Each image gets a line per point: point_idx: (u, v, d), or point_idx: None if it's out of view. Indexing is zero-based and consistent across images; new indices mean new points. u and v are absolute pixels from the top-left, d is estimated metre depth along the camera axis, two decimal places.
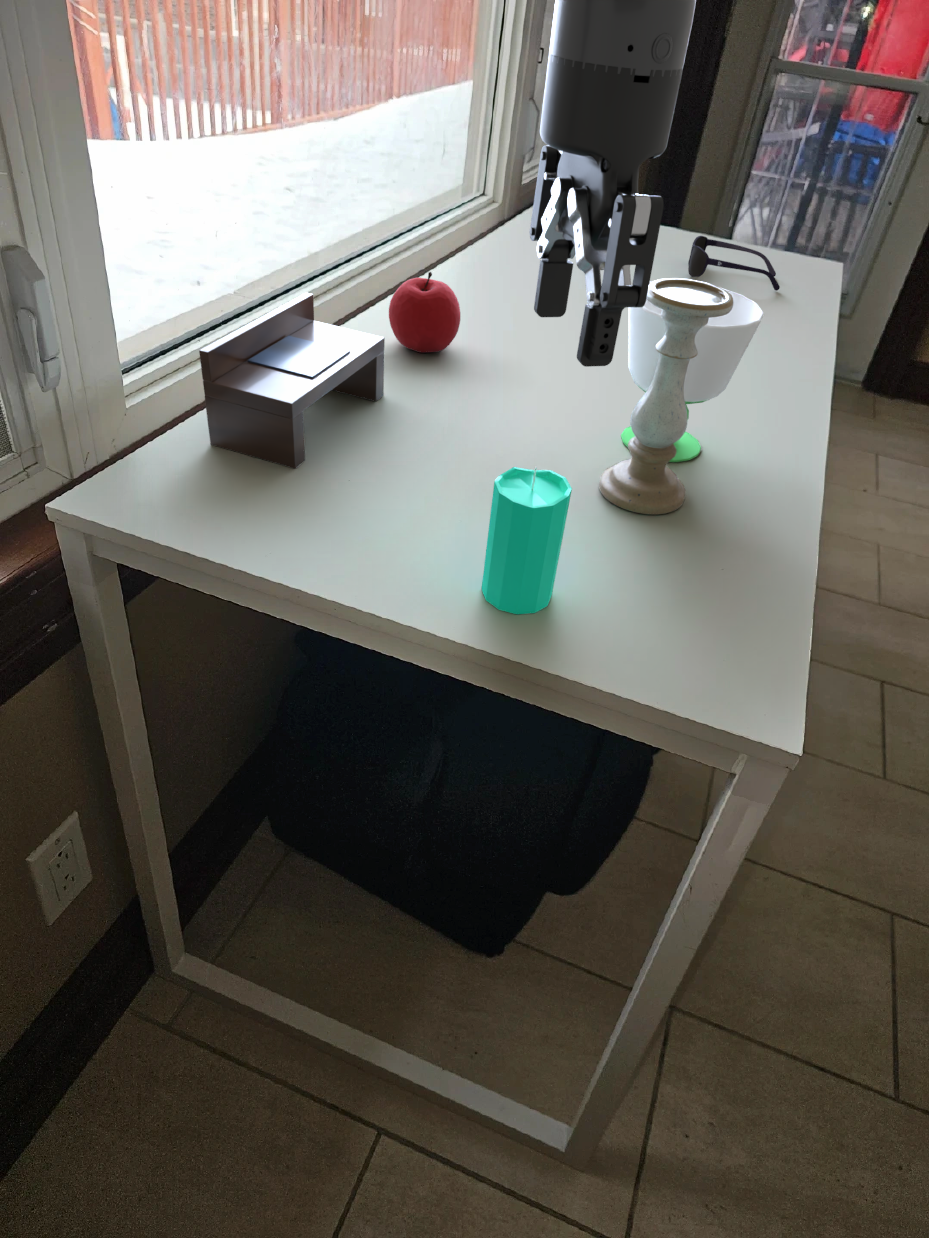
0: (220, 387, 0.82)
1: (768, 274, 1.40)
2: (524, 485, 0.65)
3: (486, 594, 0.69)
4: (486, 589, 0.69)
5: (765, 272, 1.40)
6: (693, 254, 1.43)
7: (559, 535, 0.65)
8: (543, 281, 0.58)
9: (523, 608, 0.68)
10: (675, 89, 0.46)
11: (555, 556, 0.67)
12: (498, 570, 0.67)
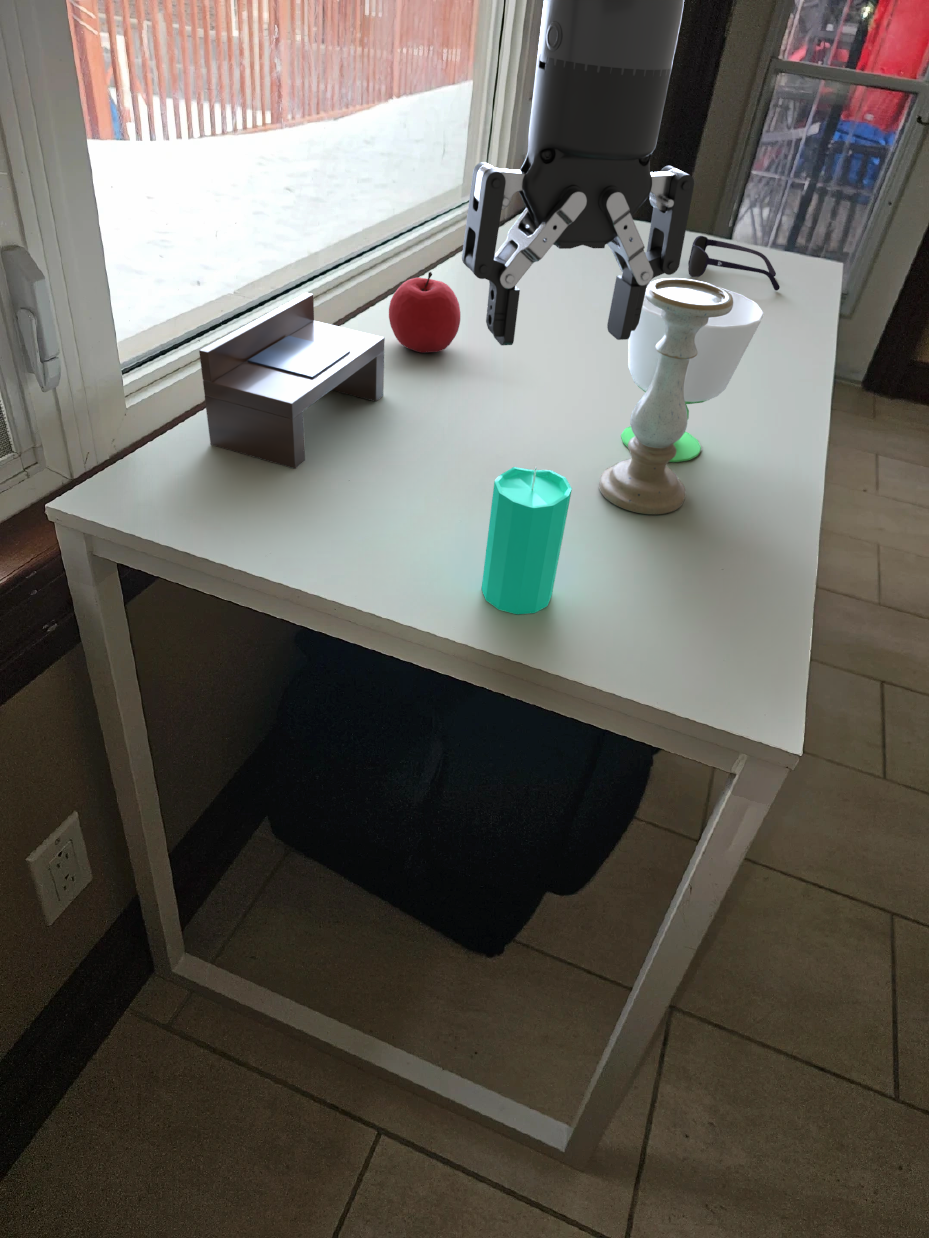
0: (220, 387, 0.82)
1: (768, 274, 1.40)
2: (524, 485, 0.65)
3: (486, 594, 0.69)
4: (486, 589, 0.69)
5: (765, 272, 1.40)
6: (693, 254, 1.43)
7: (559, 535, 0.65)
8: (614, 295, 0.57)
9: (523, 608, 0.68)
10: (578, 84, 0.45)
11: (555, 556, 0.67)
12: (498, 570, 0.67)
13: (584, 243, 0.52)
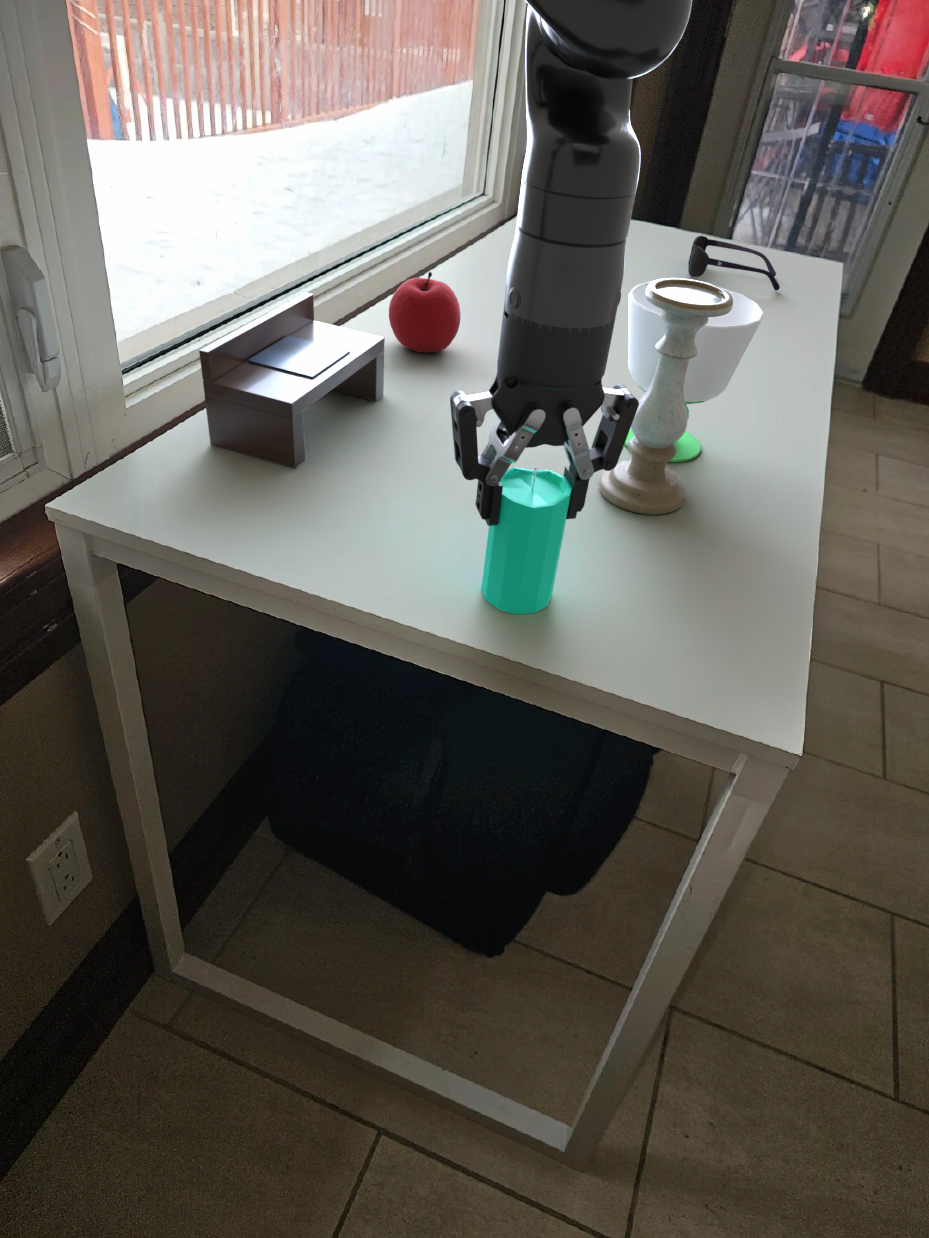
0: (220, 387, 0.82)
1: (768, 274, 1.40)
2: (524, 485, 0.65)
3: (486, 594, 0.69)
4: (486, 589, 0.69)
5: (765, 272, 1.40)
6: (693, 254, 1.43)
7: (559, 535, 0.65)
8: None
9: (523, 608, 0.68)
10: (534, 337, 0.54)
11: (555, 556, 0.67)
12: (498, 570, 0.67)
13: (546, 442, 0.61)
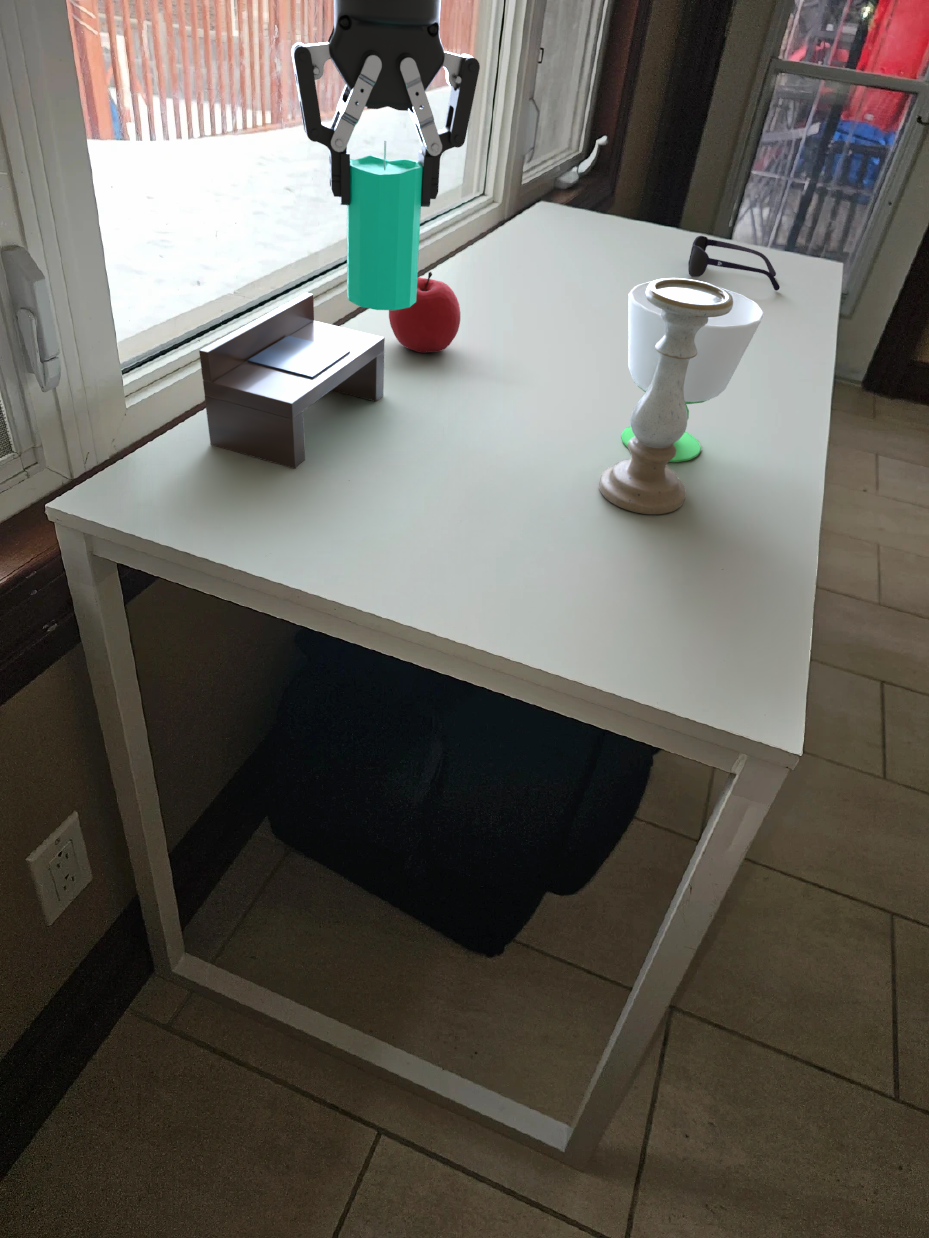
0: (220, 387, 0.82)
1: (768, 274, 1.40)
2: (378, 167, 0.66)
3: (348, 293, 0.71)
4: (348, 288, 0.70)
5: (765, 272, 1.40)
6: (693, 254, 1.43)
7: (412, 217, 0.67)
8: None
9: (382, 303, 0.70)
10: None
11: (410, 243, 0.68)
12: (355, 259, 0.68)
13: (389, 105, 0.62)
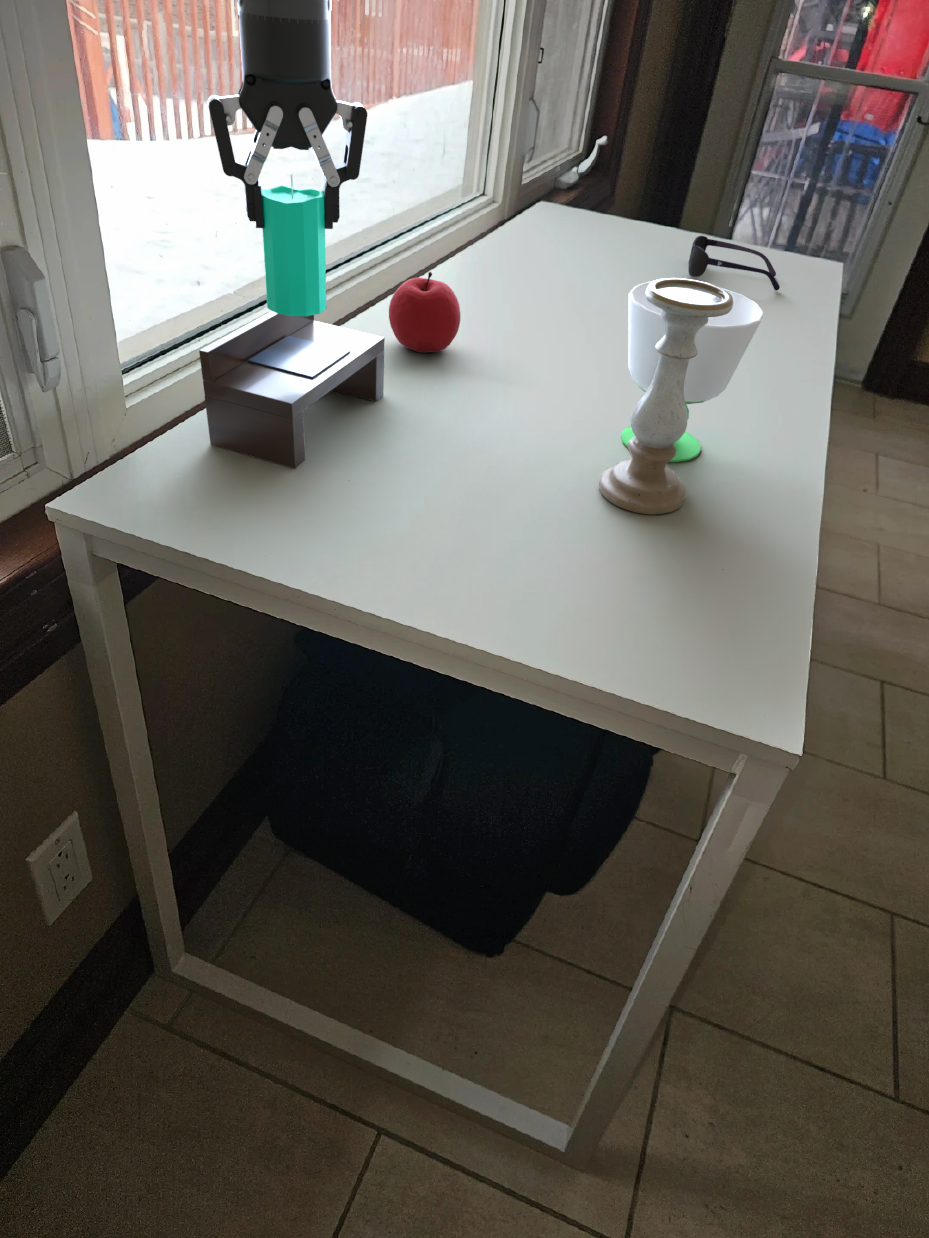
0: (220, 387, 0.82)
1: (768, 274, 1.40)
2: (287, 196, 0.79)
3: (267, 302, 0.83)
4: None
5: (765, 272, 1.40)
6: (693, 254, 1.43)
7: (316, 238, 0.79)
8: None
9: (295, 310, 0.82)
10: (255, 29, 0.67)
11: (316, 260, 0.80)
12: (270, 273, 0.81)
13: (292, 145, 0.75)
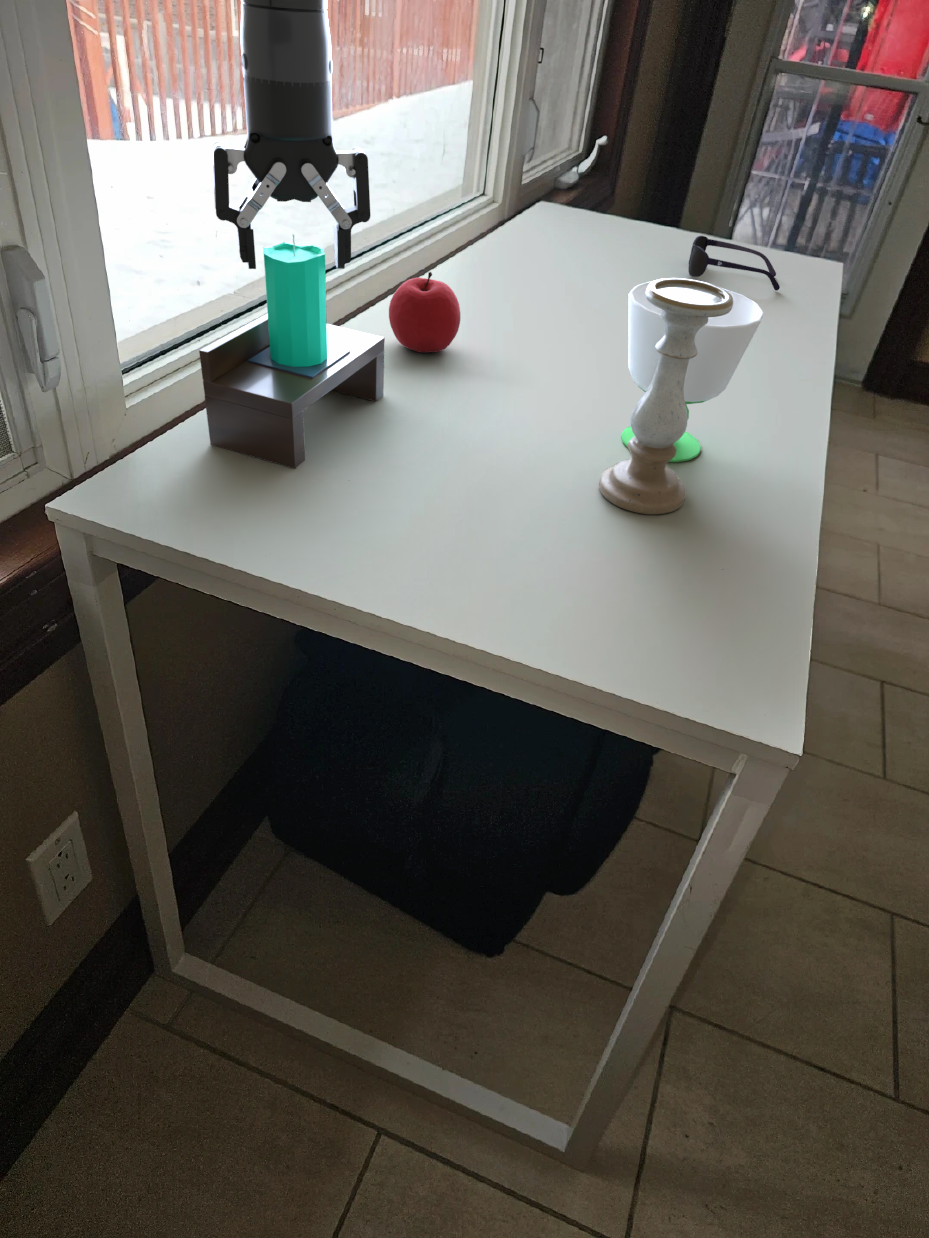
0: (220, 387, 0.82)
1: (768, 274, 1.40)
2: (289, 253, 0.82)
3: (270, 353, 0.86)
4: (270, 348, 0.86)
5: (765, 272, 1.40)
6: (693, 254, 1.43)
7: (317, 293, 0.82)
8: (334, 237, 0.82)
9: (297, 361, 0.85)
10: (260, 91, 0.70)
11: (318, 314, 0.83)
12: (273, 327, 0.84)
13: (295, 198, 0.77)
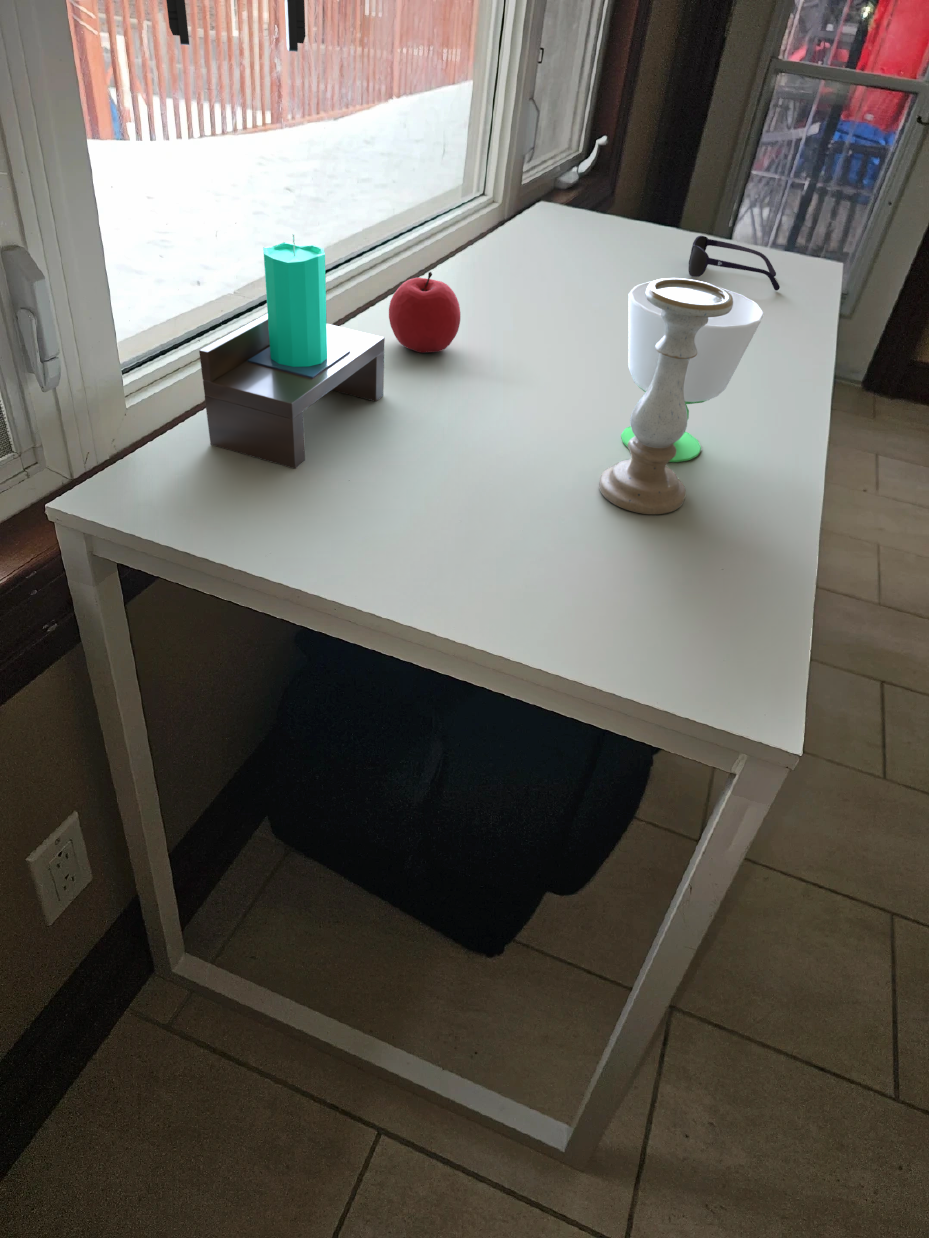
0: (220, 387, 0.82)
1: (768, 274, 1.40)
2: (289, 253, 0.82)
3: (270, 353, 0.86)
4: (270, 348, 0.86)
5: (765, 272, 1.40)
6: (693, 254, 1.43)
7: (317, 293, 0.82)
8: (285, 12, 0.68)
9: (297, 361, 0.85)
10: None
11: (318, 314, 0.83)
12: (273, 327, 0.84)
13: None
